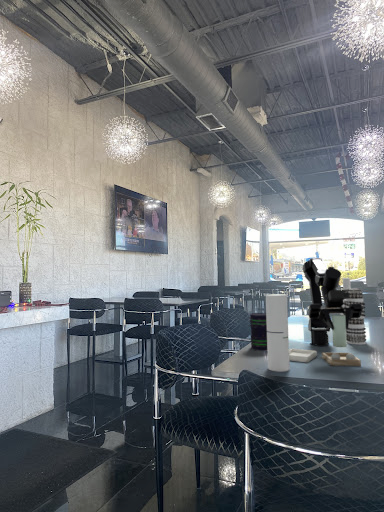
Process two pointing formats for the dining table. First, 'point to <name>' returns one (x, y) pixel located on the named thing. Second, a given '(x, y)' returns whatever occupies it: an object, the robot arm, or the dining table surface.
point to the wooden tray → (340, 360)
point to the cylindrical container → (277, 332)
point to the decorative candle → (355, 319)
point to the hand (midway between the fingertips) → (340, 329)
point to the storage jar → (258, 331)
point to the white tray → (301, 355)
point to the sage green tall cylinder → (339, 331)
